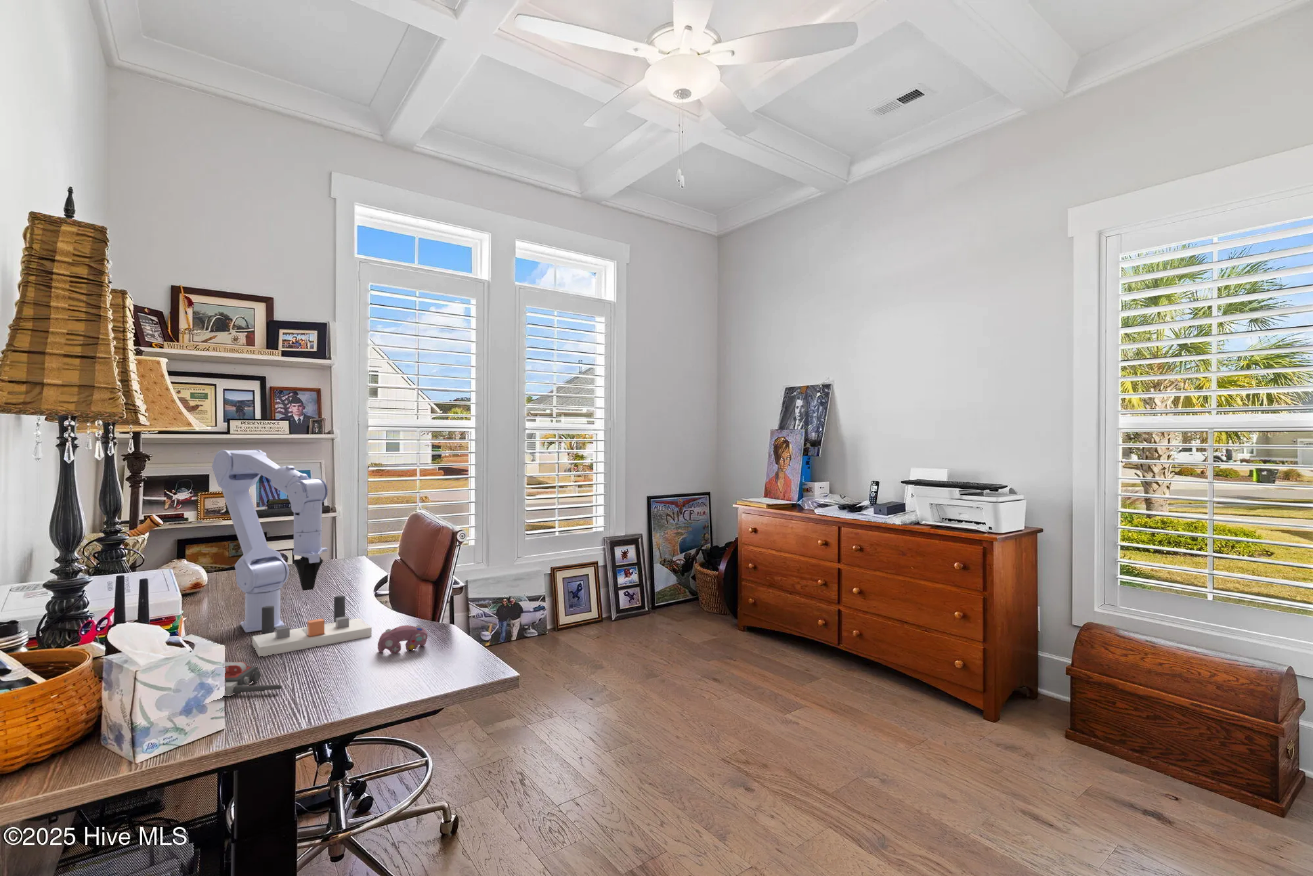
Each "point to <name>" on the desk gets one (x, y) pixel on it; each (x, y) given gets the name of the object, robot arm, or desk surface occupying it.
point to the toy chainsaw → (244, 679)
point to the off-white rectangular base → (300, 640)
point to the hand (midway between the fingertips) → (307, 589)
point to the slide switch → (315, 627)
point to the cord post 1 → (267, 619)
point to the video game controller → (402, 638)
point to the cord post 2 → (339, 607)
